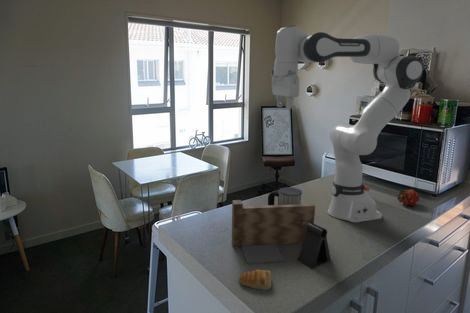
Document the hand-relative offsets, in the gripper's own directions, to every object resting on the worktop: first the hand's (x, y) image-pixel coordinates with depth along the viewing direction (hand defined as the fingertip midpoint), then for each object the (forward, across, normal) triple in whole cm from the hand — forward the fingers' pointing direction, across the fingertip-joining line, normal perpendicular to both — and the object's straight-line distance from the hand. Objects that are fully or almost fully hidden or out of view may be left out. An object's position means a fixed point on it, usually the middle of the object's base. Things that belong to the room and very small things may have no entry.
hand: (284, 107), depth 132 cm
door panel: (+46, -21, +10) cm, 52 cm away
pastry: (+47, -42, +22) cm, 67 cm away
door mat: (+46, -27, +16) cm, 56 cm away
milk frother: (+47, -9, +2) cm, 47 cm away
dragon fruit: (+47, +6, -67) cm, 82 cm away
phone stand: (+46, -34, 0) cm, 57 cm away
